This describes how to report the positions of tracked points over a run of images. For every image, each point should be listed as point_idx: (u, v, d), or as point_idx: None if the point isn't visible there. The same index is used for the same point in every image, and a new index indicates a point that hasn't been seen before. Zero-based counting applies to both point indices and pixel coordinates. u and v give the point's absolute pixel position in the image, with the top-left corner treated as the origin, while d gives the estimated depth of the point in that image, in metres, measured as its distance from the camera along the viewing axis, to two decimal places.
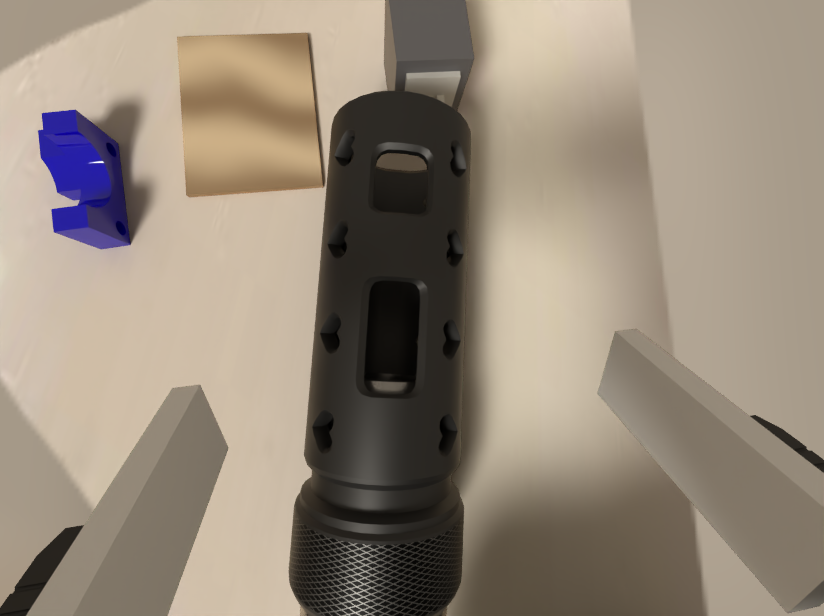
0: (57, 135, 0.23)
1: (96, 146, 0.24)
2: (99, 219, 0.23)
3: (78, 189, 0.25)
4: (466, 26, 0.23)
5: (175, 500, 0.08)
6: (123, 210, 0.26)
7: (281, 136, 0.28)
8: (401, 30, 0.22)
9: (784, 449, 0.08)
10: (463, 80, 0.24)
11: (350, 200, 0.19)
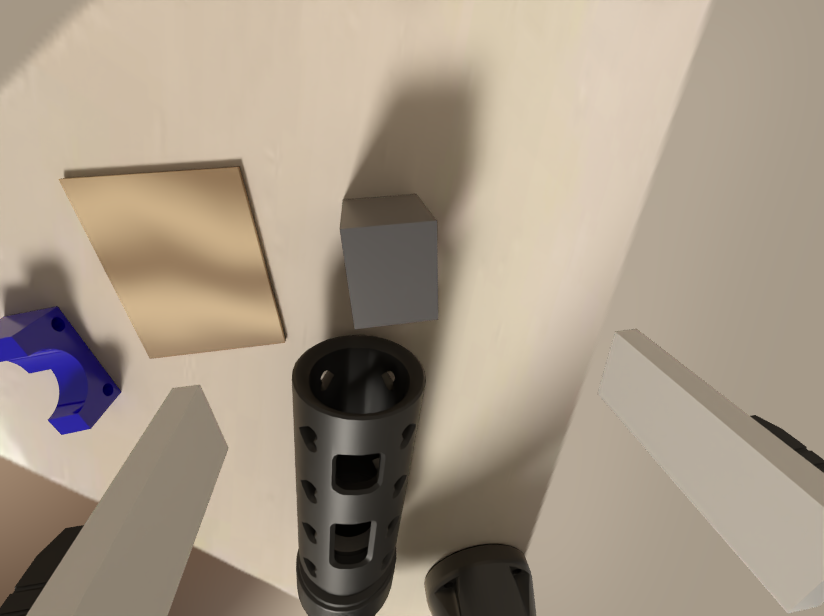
0: None
1: (47, 343, 0.23)
2: (92, 409, 0.26)
3: None
4: (434, 285, 0.20)
5: (175, 500, 0.08)
6: (100, 369, 0.27)
7: (233, 299, 0.26)
8: (360, 296, 0.20)
9: (784, 449, 0.08)
10: None
11: (316, 477, 0.23)
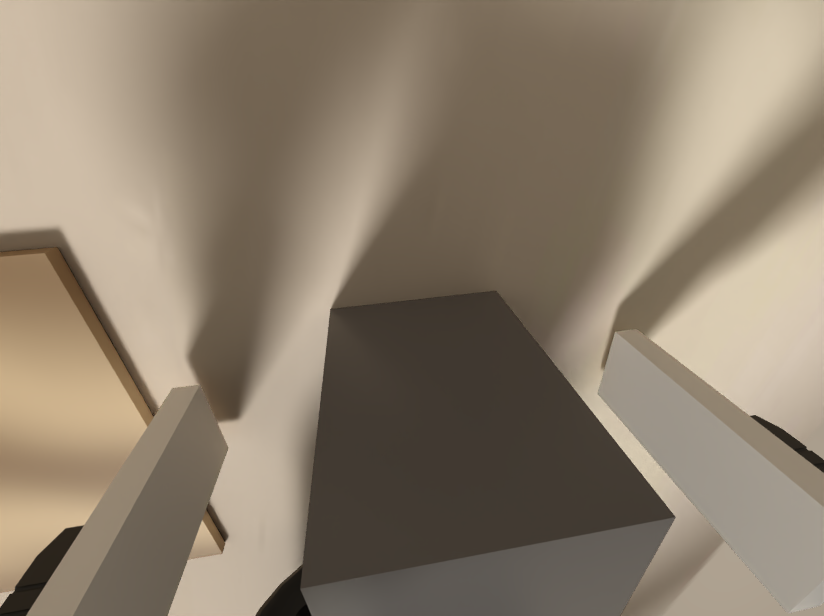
0: None
1: None
2: None
3: None
4: None
5: (175, 500, 0.08)
6: None
7: None
8: None
9: (784, 449, 0.08)
10: None
11: None
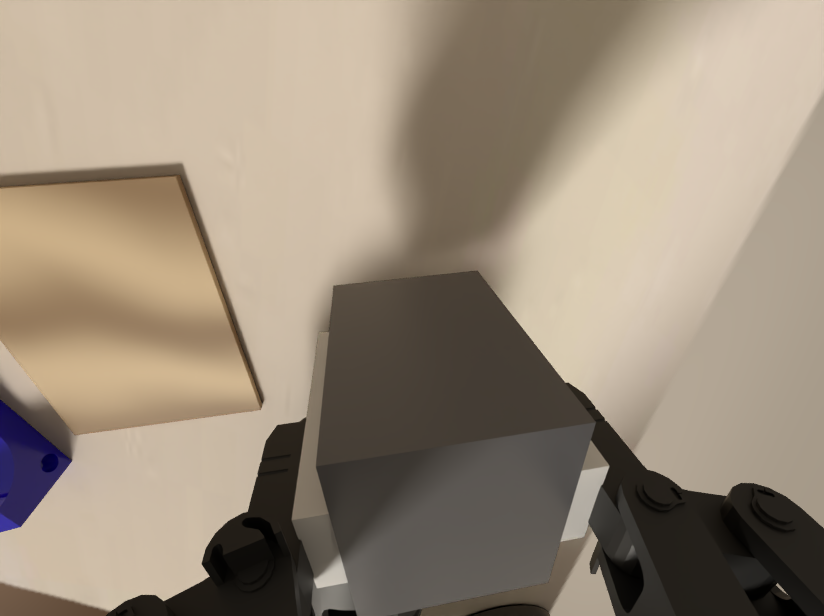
0: None
1: None
2: (22, 498, 0.18)
3: None
4: (553, 536, 0.08)
5: None
6: (35, 437, 0.20)
7: (184, 359, 0.18)
8: (372, 575, 0.08)
9: None
10: None
11: None
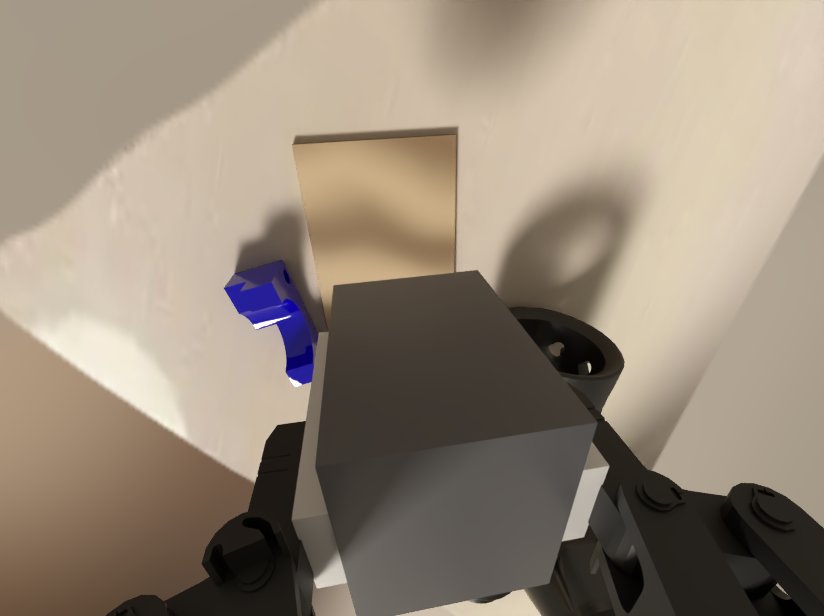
0: None
1: (286, 294, 0.24)
2: None
3: None
4: (554, 538, 0.08)
5: None
6: (312, 324, 0.27)
7: (417, 269, 0.26)
8: (372, 576, 0.08)
9: None
10: None
11: None
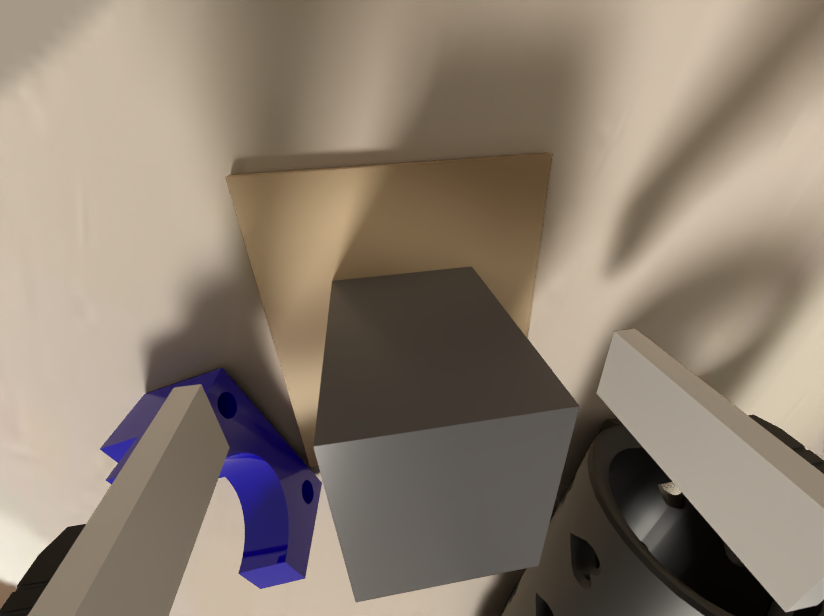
0: None
1: None
2: (299, 540, 0.14)
3: None
4: (542, 519, 0.09)
5: (177, 499, 0.08)
6: (292, 461, 0.16)
7: None
8: (368, 555, 0.08)
9: (782, 448, 0.08)
10: None
11: None
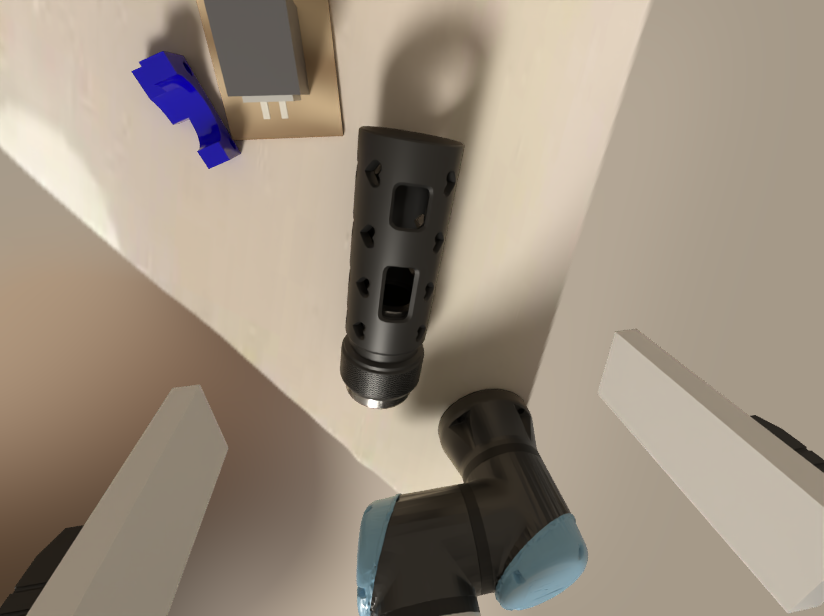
0: (162, 81, 0.27)
1: (185, 76, 0.28)
2: (226, 147, 0.31)
3: (187, 118, 0.30)
4: (291, 56, 0.24)
5: (175, 500, 0.08)
6: (223, 125, 0.32)
7: None
8: (227, 59, 0.24)
9: (785, 449, 0.08)
10: None
11: (377, 214, 0.29)
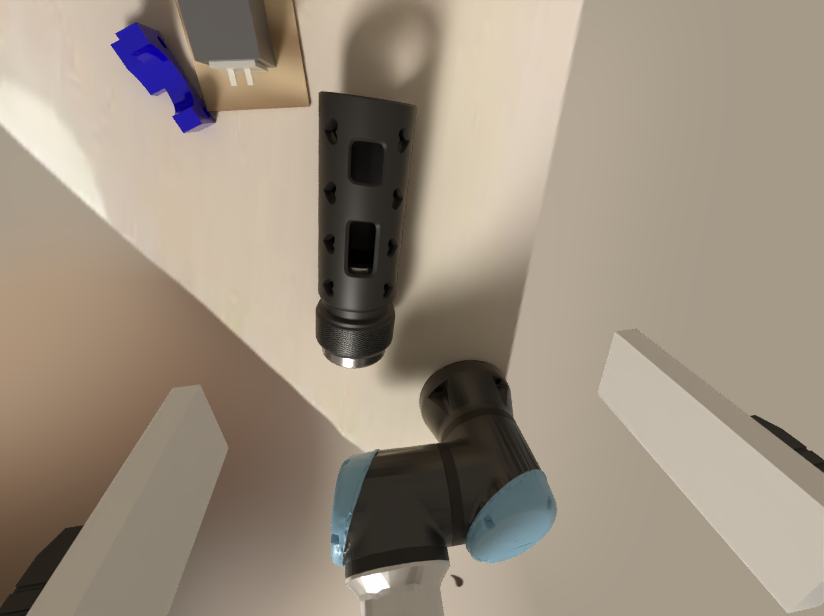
0: (137, 51, 0.30)
1: (159, 48, 0.31)
2: (199, 113, 0.33)
3: (163, 88, 0.33)
4: (250, 22, 0.27)
5: (175, 500, 0.08)
6: (197, 95, 0.35)
7: None
8: (192, 26, 0.27)
9: (784, 449, 0.08)
10: (262, 61, 0.30)
11: (336, 171, 0.32)
